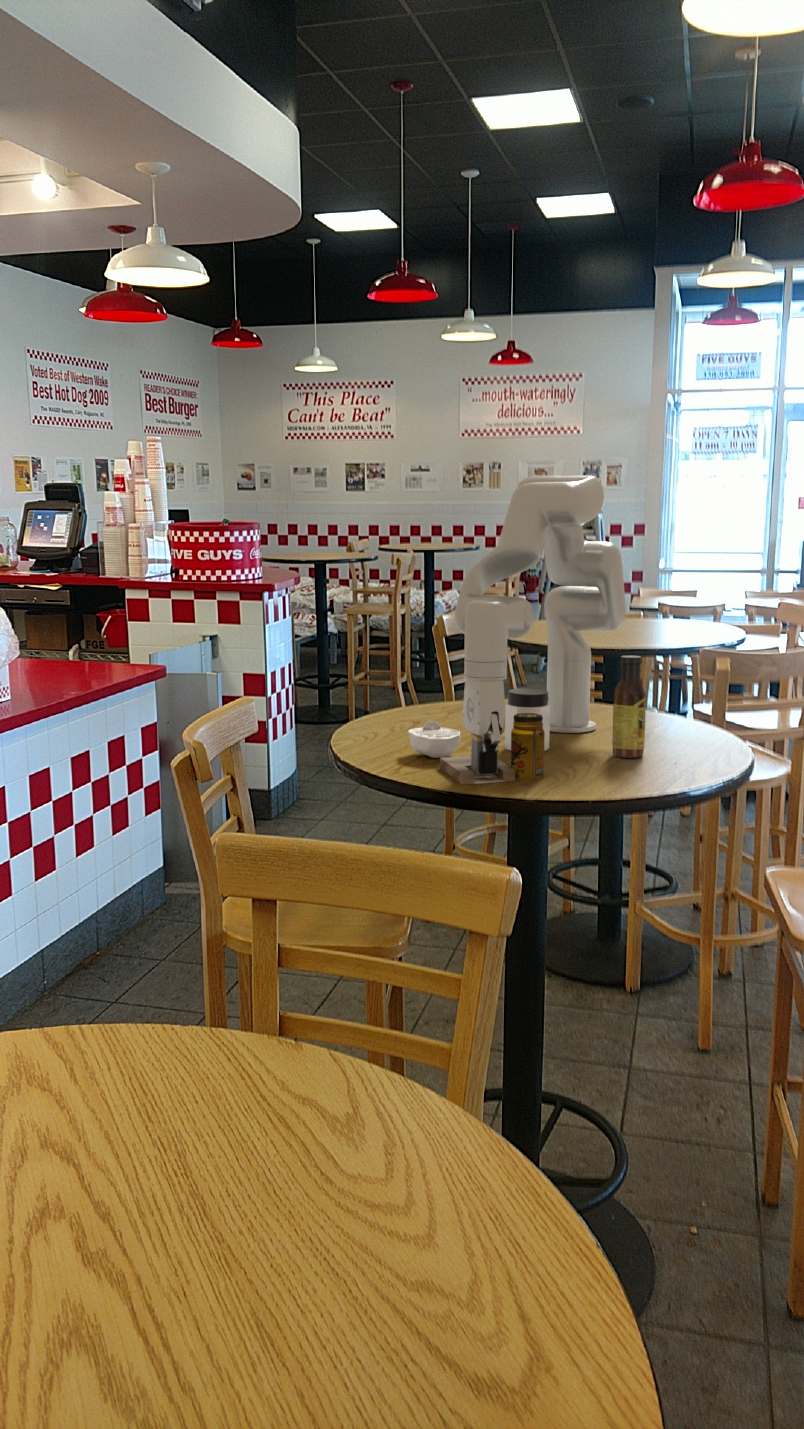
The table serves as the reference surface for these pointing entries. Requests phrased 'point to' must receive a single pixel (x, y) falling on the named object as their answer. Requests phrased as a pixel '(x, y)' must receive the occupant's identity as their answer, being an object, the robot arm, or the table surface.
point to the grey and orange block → (477, 753)
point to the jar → (527, 710)
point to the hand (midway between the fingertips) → (484, 769)
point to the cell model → (434, 740)
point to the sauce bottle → (629, 710)
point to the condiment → (527, 747)
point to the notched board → (464, 775)
